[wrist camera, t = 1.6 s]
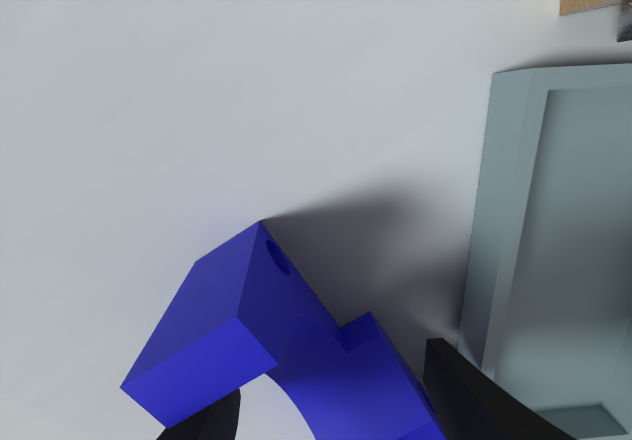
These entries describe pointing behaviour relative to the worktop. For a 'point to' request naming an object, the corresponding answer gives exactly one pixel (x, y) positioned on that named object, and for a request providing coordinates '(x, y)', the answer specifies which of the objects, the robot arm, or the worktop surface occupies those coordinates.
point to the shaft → (571, 3)
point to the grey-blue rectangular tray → (556, 247)
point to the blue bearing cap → (276, 350)
